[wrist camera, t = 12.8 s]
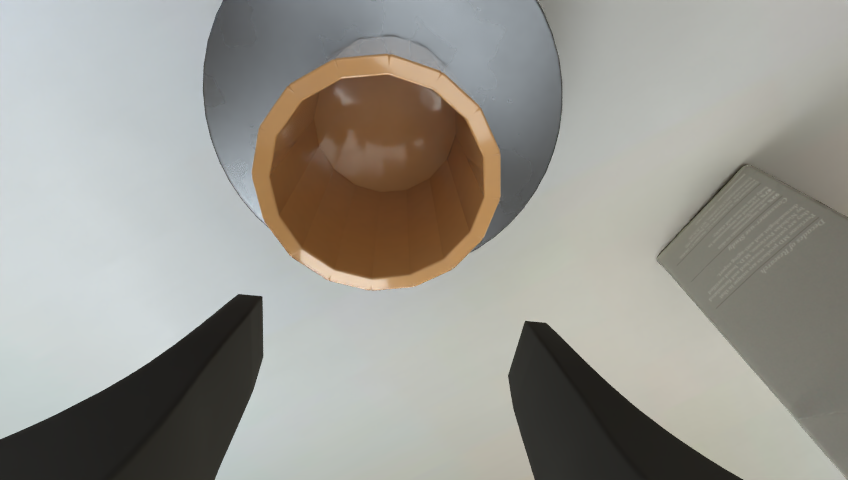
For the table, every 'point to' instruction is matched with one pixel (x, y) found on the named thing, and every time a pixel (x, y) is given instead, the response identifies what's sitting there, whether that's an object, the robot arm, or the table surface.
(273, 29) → the grey disc
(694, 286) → the cosmetic box
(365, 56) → the cup
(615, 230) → the table surface
